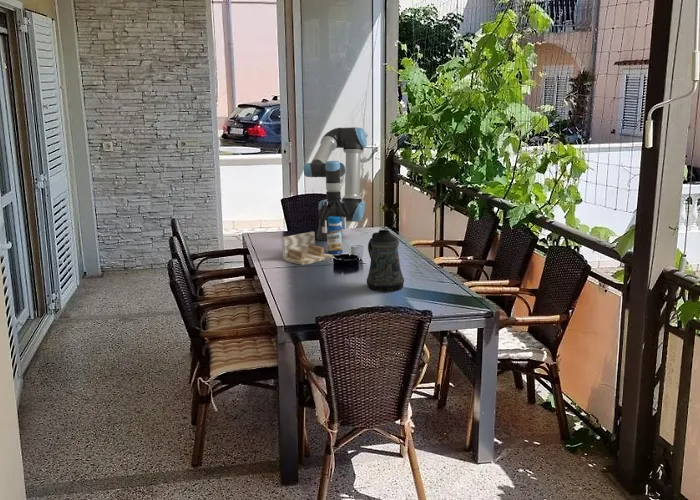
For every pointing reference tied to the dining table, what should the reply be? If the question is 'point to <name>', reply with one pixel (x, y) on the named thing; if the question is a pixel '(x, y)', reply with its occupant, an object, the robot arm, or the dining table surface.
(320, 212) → the robot arm
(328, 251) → the beverage bottle
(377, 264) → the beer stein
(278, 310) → the dining table surface
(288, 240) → the wooden display stand
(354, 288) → the dining table surface
